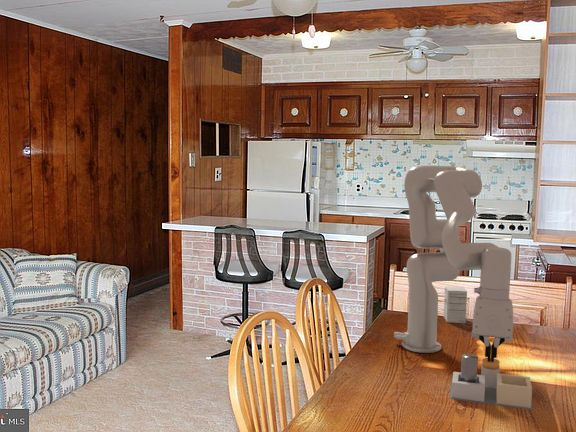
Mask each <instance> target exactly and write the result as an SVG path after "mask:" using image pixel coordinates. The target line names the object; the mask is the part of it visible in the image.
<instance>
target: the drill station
mask: <svg viewBox="0 0 576 432" xmlns="http://www.w3.org/2000/svg"><path fill="white" fill-rule="evenodd" d="M480 368H481V369H480V370H481V374H477V383H469V382H461V371H459V372H458V371H453V372H452V376H451V384H450V389H449V390H450V391H449V397H448V398H449V400H456V401H465V402H471V403H477V404H484V405H485V404H486V405H493V406H501V407H506V408H515V409H522V410H528V411H529V410H531V411H534V405H533V401H532V397H533V387H532V382H531V378H530V376H523V375H515V374H514V375H513V374H508V373H506V374H505V373H501V368H500V365H499V368H498V369H489V368H485V367H483V366H482V365H481V367H480Z"/></svg>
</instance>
